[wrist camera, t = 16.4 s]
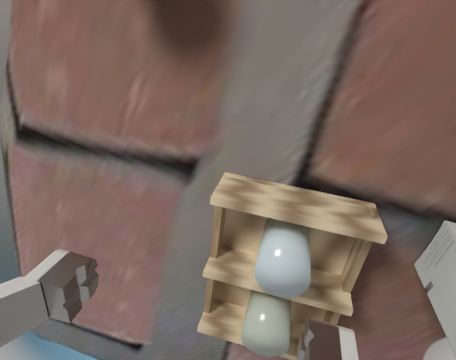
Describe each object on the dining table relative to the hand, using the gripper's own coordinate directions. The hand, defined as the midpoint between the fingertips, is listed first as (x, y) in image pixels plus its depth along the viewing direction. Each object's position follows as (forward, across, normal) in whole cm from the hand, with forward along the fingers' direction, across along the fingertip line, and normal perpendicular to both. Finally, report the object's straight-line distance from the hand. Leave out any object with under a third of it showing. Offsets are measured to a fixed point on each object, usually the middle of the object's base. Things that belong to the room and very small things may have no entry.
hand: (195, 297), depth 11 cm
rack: (+29, -5, +22) cm, 37 cm away
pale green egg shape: (+28, -5, +28) cm, 40 cm away
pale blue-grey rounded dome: (+28, -5, +16) cm, 33 cm away
